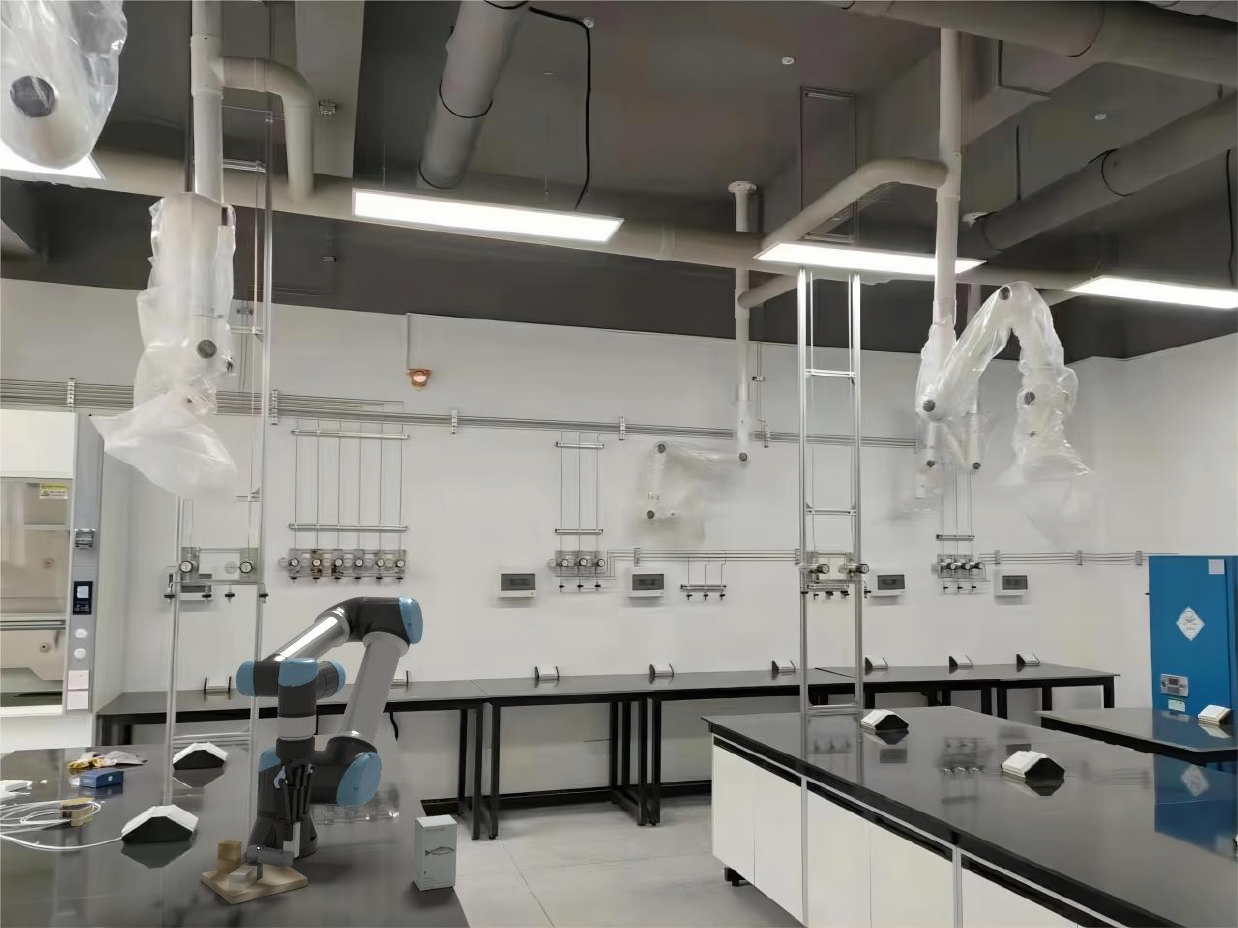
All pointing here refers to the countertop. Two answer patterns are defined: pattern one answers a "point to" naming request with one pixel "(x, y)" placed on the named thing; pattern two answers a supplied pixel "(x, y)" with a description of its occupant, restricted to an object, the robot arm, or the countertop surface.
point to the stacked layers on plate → (77, 811)
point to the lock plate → (260, 887)
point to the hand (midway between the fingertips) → (290, 855)
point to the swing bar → (269, 856)
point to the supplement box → (435, 852)
